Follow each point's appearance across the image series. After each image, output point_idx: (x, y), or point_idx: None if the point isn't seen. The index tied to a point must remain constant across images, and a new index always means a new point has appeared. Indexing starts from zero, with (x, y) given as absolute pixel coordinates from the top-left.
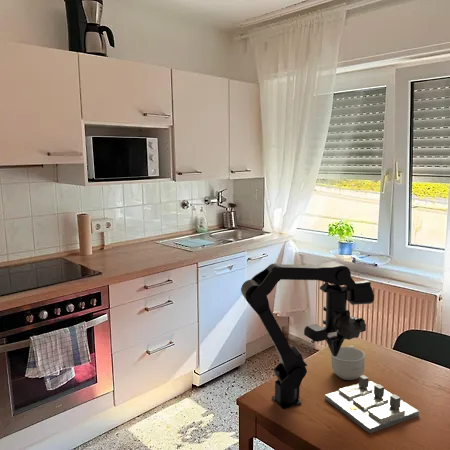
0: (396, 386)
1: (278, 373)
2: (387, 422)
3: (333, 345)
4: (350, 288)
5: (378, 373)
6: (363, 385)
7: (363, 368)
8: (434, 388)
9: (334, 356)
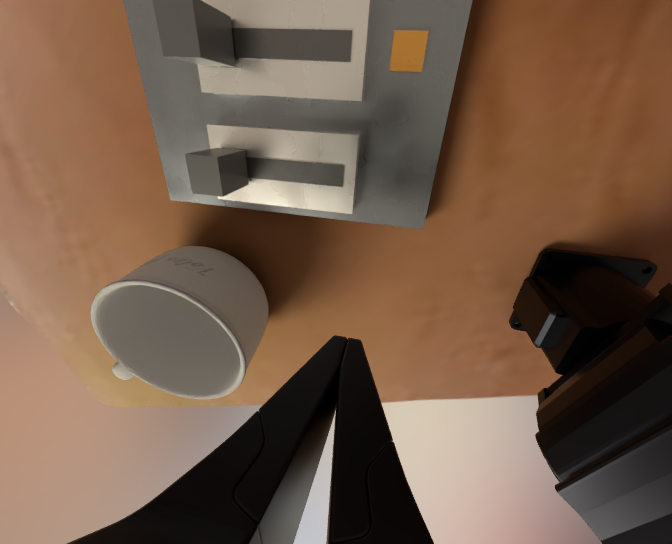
0: (89, 132)
1: None
2: None
3: (411, 492)
4: None
5: (114, 238)
6: (237, 154)
7: (156, 257)
8: None
9: (361, 342)
